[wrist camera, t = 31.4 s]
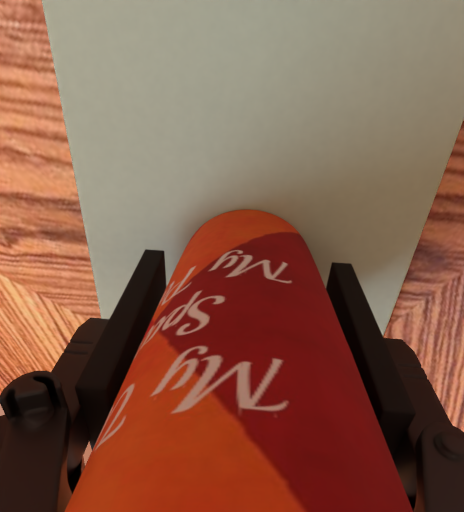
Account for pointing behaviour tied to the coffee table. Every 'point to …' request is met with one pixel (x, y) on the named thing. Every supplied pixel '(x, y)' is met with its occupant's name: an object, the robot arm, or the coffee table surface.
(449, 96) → the placemat
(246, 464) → the paper cup
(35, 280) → the coffee table surface
